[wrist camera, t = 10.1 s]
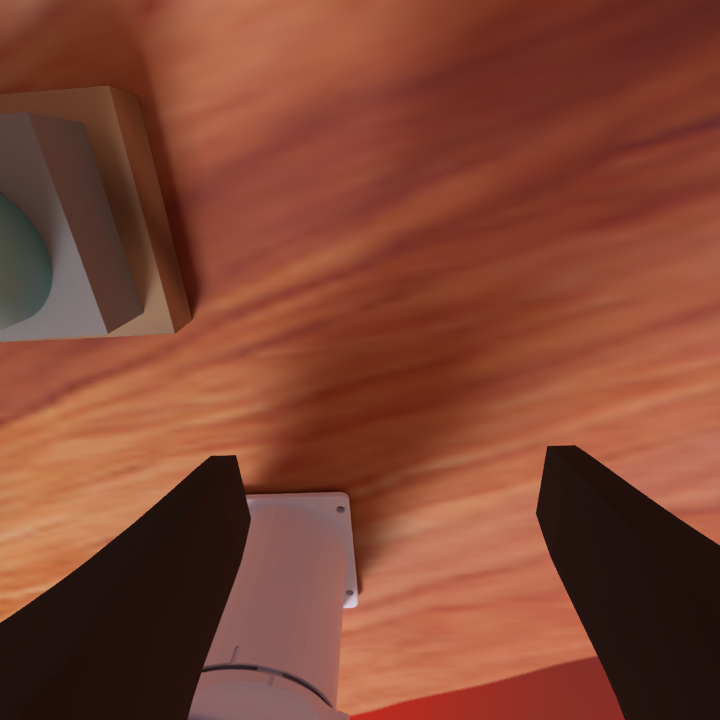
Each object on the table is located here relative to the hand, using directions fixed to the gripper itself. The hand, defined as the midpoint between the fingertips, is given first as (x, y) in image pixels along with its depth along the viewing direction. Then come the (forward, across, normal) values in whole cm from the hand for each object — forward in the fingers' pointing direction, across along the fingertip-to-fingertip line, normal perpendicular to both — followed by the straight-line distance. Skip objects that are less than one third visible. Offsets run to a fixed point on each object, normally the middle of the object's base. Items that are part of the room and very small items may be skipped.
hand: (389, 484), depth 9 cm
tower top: (+9, +14, -5) cm, 17 cm away
